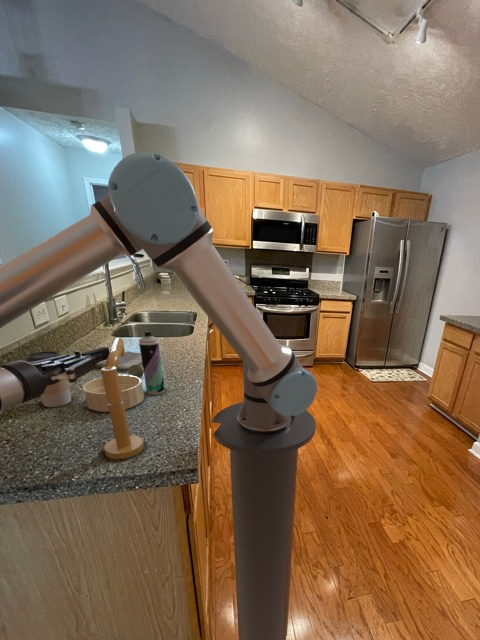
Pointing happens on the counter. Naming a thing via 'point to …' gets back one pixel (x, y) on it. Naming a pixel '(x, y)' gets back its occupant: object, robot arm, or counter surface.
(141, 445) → the base
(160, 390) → the spray can
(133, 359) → the dish towel
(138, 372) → the lime
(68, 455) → the counter surface
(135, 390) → the cream bowl
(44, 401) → the coffee cup
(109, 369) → the faucet spout
